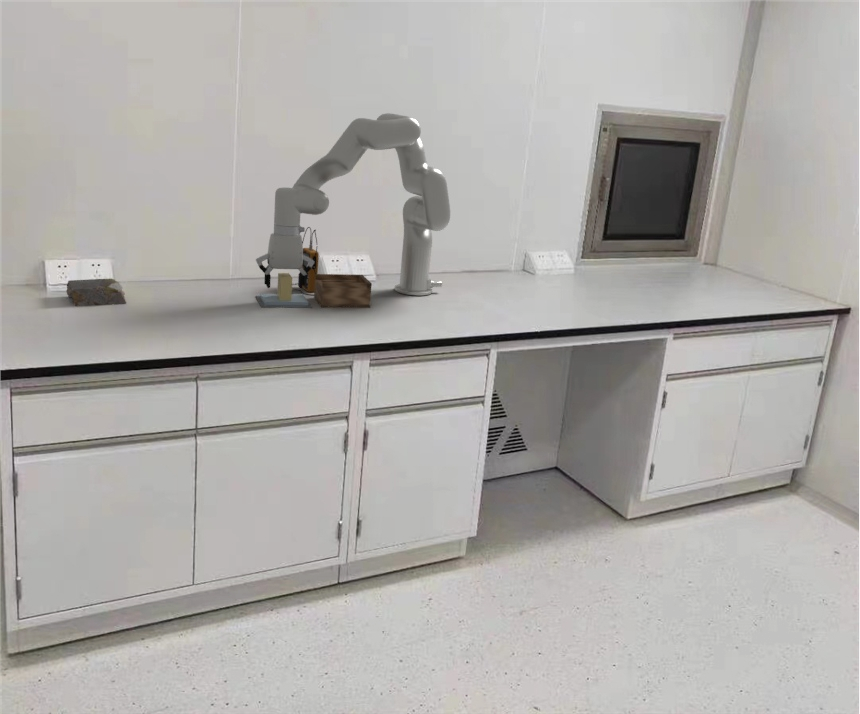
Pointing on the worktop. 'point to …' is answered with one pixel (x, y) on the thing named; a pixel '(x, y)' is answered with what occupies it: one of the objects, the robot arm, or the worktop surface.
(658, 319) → the worktop surface
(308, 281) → the multimeter
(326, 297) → the case
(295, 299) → the cover plate
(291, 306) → the mat
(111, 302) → the geological specimen
